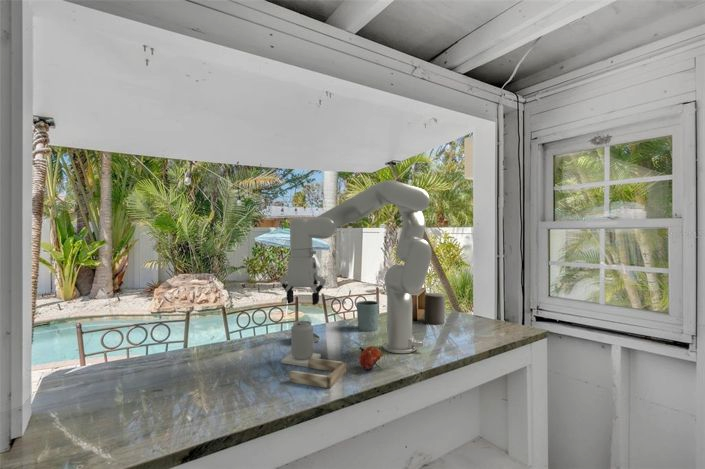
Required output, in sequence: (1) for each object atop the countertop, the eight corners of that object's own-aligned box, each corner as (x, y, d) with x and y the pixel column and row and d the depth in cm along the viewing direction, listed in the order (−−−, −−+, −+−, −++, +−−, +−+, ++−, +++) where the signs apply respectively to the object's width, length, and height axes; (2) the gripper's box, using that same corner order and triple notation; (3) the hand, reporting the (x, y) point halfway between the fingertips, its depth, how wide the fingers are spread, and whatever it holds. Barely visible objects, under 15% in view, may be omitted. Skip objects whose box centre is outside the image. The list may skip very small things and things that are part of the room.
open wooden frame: (346, 371, 117) (346, 362, 117) (329, 388, 105) (329, 377, 105) (309, 366, 122) (309, 357, 122) (289, 381, 110) (289, 371, 110)
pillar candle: (424, 324, 176) (425, 292, 176) (424, 319, 186) (424, 289, 186) (445, 325, 175) (446, 293, 174) (443, 320, 184) (444, 290, 184)
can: (292, 353, 131) (292, 319, 131) (313, 353, 132) (313, 319, 132) (290, 361, 124) (290, 325, 124) (312, 360, 125) (312, 325, 124)
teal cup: (379, 332, 163) (379, 304, 163) (356, 331, 163) (356, 304, 163) (377, 326, 173) (377, 300, 173) (356, 325, 173) (356, 300, 173)
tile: (320, 356, 131) (320, 354, 131) (307, 366, 122) (307, 363, 122) (295, 353, 134) (295, 350, 134) (281, 362, 125) (281, 360, 125)
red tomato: (383, 372, 123) (362, 350, 127) (393, 358, 119) (372, 336, 124) (370, 382, 117) (349, 358, 121) (381, 368, 113) (359, 343, 118)
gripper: (328, 253, 128) (330, 302, 128) (285, 253, 134) (286, 300, 134) (319, 254, 121) (320, 307, 121) (273, 254, 127) (275, 304, 127)
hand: (302, 303), depth 128 cm, fingers open, 9 cm apart
